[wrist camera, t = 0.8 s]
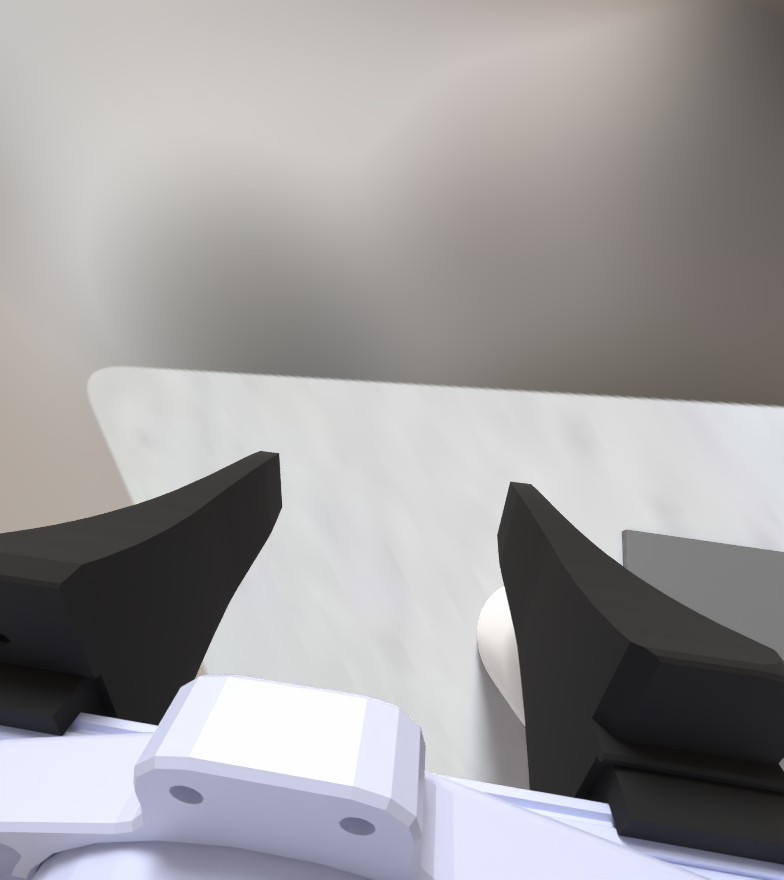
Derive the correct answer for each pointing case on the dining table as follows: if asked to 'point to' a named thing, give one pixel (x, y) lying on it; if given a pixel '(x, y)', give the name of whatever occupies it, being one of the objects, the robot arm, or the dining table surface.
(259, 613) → the dining table surface
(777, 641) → the mat
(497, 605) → the can
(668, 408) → the dining table surface
